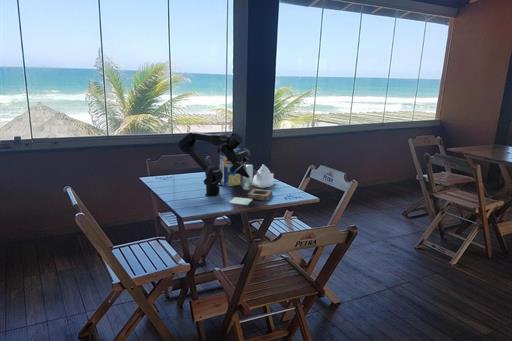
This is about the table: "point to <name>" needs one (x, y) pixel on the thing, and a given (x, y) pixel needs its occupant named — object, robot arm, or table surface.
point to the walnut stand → (260, 194)
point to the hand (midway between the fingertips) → (250, 176)
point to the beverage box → (228, 171)
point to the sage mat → (240, 201)
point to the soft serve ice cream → (263, 177)
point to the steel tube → (248, 181)
